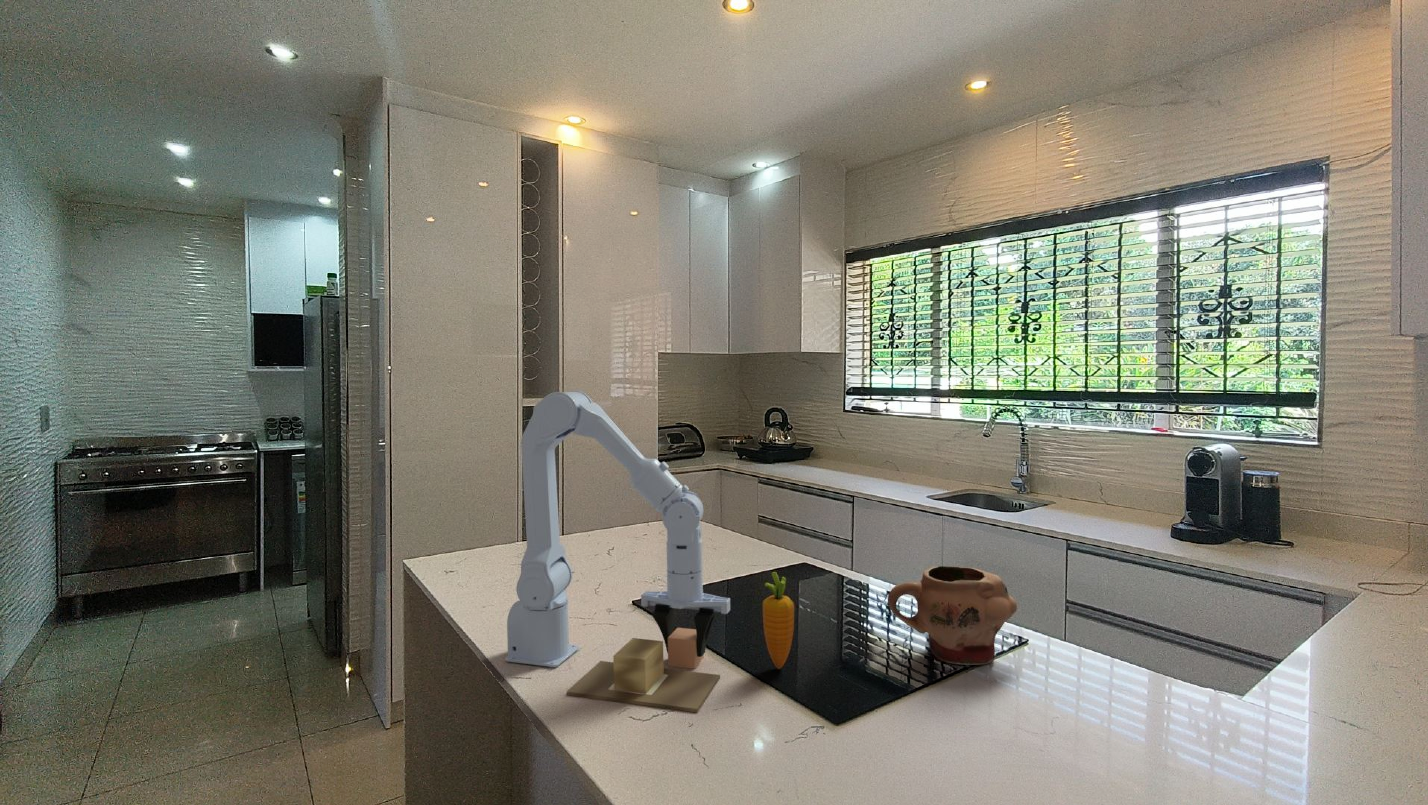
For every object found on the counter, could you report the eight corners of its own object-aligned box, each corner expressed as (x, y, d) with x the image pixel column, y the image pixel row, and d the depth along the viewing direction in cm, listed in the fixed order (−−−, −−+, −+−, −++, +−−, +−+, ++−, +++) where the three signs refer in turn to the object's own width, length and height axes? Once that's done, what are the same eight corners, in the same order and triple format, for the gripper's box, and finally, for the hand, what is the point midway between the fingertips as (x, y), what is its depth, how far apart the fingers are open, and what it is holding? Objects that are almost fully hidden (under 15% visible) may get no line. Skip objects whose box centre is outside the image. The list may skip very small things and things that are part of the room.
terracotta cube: (668, 665, 109) (667, 637, 109) (677, 654, 113) (677, 627, 113) (695, 668, 108) (694, 640, 107) (703, 657, 112) (703, 630, 112)
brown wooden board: (566, 694, 99) (566, 691, 99) (600, 663, 110) (600, 660, 110) (697, 712, 94) (697, 708, 94) (720, 678, 104) (719, 674, 104)
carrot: (793, 677, 104) (792, 579, 104) (761, 674, 105) (760, 578, 104) (796, 663, 109) (795, 570, 108) (765, 661, 110) (764, 568, 109)
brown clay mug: (898, 672, 105) (898, 583, 105) (881, 641, 117) (880, 561, 117) (1030, 672, 105) (1030, 582, 104) (998, 641, 117) (998, 560, 116)
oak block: (614, 689, 100) (613, 655, 99) (633, 669, 106) (632, 637, 106) (645, 693, 98) (645, 659, 98) (663, 673, 105) (663, 641, 105)
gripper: (632, 573, 108) (634, 657, 109) (721, 579, 104) (722, 667, 104) (649, 561, 115) (651, 641, 115) (733, 567, 111) (734, 649, 111)
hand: (686, 652), depth 110 cm, fingers closed on terracotta cube, 4 cm apart
